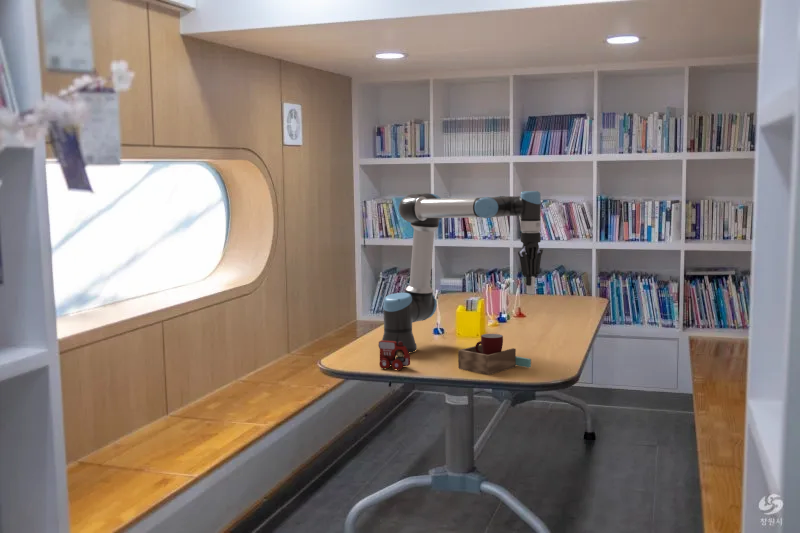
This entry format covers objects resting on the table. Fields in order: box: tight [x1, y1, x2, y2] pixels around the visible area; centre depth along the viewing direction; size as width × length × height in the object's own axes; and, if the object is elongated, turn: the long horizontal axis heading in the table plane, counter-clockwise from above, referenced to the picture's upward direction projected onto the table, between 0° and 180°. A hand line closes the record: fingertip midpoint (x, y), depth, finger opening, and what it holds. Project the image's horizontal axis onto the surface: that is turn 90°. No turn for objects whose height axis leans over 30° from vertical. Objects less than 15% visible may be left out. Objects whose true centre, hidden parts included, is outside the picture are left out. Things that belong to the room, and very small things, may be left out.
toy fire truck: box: [378, 339, 411, 371], centre depth 300 cm, size 7×12×10 cm, turn 67°
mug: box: [474, 333, 504, 355], centre depth 298 cm, size 10×8×10 cm
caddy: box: [457, 344, 517, 376], centre depth 298 cm, size 14×16×7 cm
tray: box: [516, 355, 532, 369], centre depth 297 cm, size 20×16×3 cm
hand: (530, 293), depth 304 cm, fingers closed
